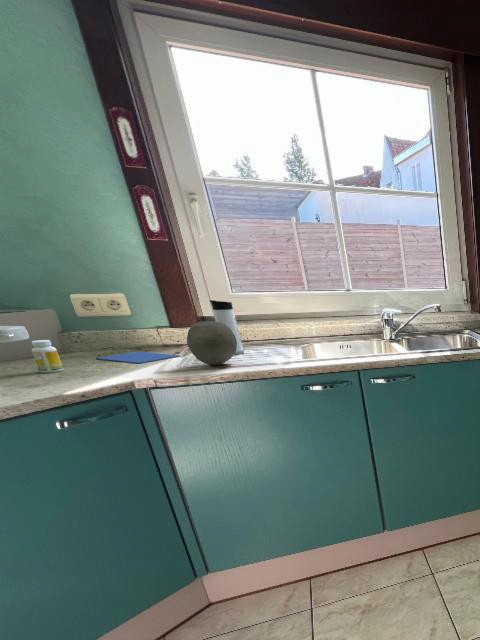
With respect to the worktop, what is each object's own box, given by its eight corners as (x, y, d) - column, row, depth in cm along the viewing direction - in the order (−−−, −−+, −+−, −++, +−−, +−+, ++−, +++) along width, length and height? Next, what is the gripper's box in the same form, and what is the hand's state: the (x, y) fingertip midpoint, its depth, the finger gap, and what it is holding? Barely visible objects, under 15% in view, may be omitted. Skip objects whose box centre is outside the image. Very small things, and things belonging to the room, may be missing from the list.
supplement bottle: (38, 373, 153) (25, 342, 149) (42, 370, 157) (30, 340, 153) (62, 371, 156) (50, 341, 152) (65, 368, 160) (54, 339, 156)
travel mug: (219, 354, 187) (205, 300, 180) (236, 351, 193) (223, 298, 185) (230, 355, 185) (216, 301, 178) (247, 353, 191) (235, 299, 183)
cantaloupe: (182, 368, 165) (168, 322, 159) (217, 359, 178) (206, 317, 172) (220, 370, 164) (208, 324, 158) (252, 362, 177) (242, 319, 171)
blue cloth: (96, 359, 173) (95, 358, 173) (139, 352, 186) (139, 351, 186) (139, 363, 169) (138, 362, 169) (180, 356, 182) (180, 355, 182)
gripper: (-2, 325, 129) (40, 318, 141) (-103, 325, 124) (-50, 318, 137) (8, 349, 131) (48, 340, 143) (-90, 350, 126) (-40, 341, 139)
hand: (0, 330), depth 140 cm, fingers open, 8 cm apart
